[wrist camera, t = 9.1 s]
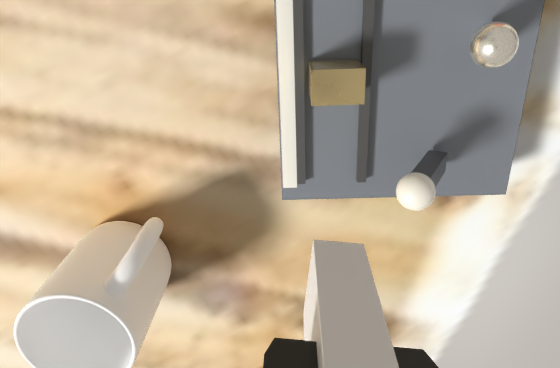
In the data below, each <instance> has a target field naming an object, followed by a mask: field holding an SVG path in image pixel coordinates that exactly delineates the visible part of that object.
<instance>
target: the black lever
mask: <svg viewBox="0 0 560 368" xmlns="http://www.w3.org/2000/svg"><path fill="white" fill-rule="evenodd" d="M447 154H448V152H441V151H434V150H429V151H428V152H427V153H426V154H425V156H424V157H423V158H422V159H421V161H420V162H419V163H418V164H417V166H416V167H415V168H414V169H413V171H412V172H411V173H409V174H407V175H405V176H403V177H402V178H401V179H400V180H399V182H398V184H397V187H396V196H397V199H398V201H399V202H400V204H401V205H402V206H404V207H405V208H407V209H409V210H416V211H417V210H422V209H425V208H427V207H428V206H429V205H430V204H431V203H432V202H433V200H434V198H435V195H436V188H435V187H436V186H437V184H438V183H439V181H440V179H441V178H442V176H443V175H444V173H445V169H446V162H447Z"/></svg>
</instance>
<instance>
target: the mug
mask: <svg viewBox="0 0 560 368" xmlns="http://www.w3.org/2000/svg"><path fill="white" fill-rule="evenodd" d="M162 230H163V222H162V220H161V219H160V218H157V217H152V218H150V219H149V220H148V221H147V222H146V223H145V224H144V226H142V225H139V224H136V223H133V222H128V221H112V222H106V223H103V224H100V225H98V226H96V227H95V228H93V229H92V230H90V231H89V232H88V233H87V234H86V235H85V236H84V237H83V238H82V239H81V240H80V241H79V242H78V244H77V245H76V246H75V247H74V248H73V249H72V251H71V252H70V253H69V254H68V255H67V257H66V258H65V259H64V260H63V261H62V262H61V264H60V265H59V266H58V267H57V268H56V270H55V271H54V272H53V273H52V274H51V275H50V277H49V278H48V279H47V280H46V281H45V283H44V284H43V285H42V286H41V287H40V288H39V290H38V291H37V292H36V293H35V294H34V296H33V297H32V298H31V299H30V300H29V301H28V303H27V304H26V305H25V306H24V307H23V309H22V310H21V311H20V312H19V314H18V316H17V318H16V321H15V324H14V338H15V342H16V345H17V347H18V349H19V351H20V353H21V354H22V356H23V357H24V358H25V360H26V361H27V362H28V363H29V364H30V365H31V366H32V367H34V368H132V366H133V364H134V362H135V360H136V357H137V355H138V353H139V350H140V348H141V346H142V343H143V341H144V338H145V336H146V334H147V331H148V329H149V327H150V324H151V322H152V319H153V317H154V315H155V312H156V310H157V308H158V305H159V303H160V300H161V298H162V296H163V293H164V291H165V289H166V286H167V284H168V281H169V277H170V274H171V257H170V254H169V251H168V249H167V247H166V245H165V244H164V243H163V241H162V240H161V239H160V238H159V236H160V234H161V232H162Z"/></svg>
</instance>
